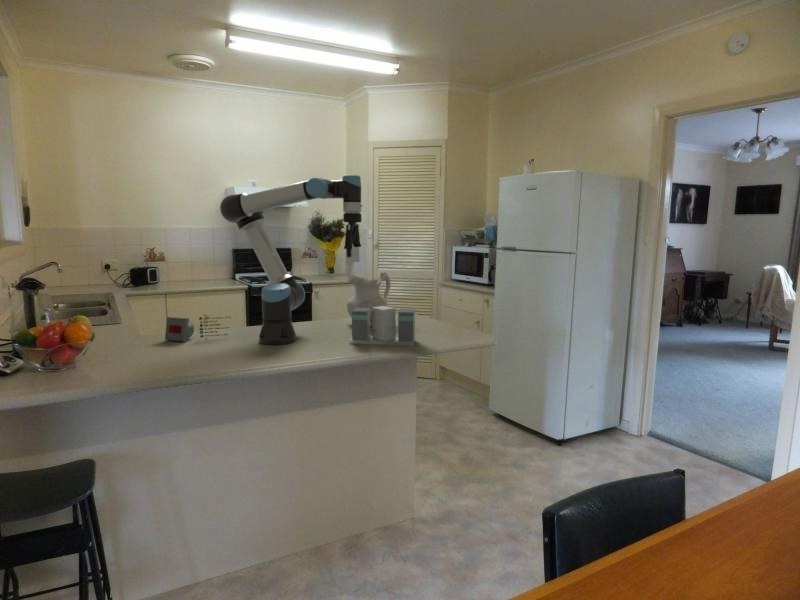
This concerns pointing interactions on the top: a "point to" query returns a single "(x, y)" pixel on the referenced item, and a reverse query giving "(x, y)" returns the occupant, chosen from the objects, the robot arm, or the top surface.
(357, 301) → the ceramic pitcher
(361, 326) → the block
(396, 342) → the rail plate
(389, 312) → the small box
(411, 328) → the block
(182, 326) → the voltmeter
